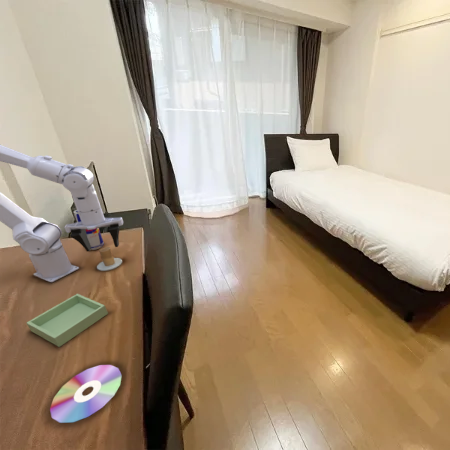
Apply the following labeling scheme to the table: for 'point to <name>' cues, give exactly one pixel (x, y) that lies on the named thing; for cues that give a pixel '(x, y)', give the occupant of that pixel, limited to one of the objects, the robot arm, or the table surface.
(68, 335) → the tray
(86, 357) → the table surface
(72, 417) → the cd
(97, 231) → the beverage can
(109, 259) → the brown cylinder
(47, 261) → the robot arm
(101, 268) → the coaster
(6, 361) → the table surface
